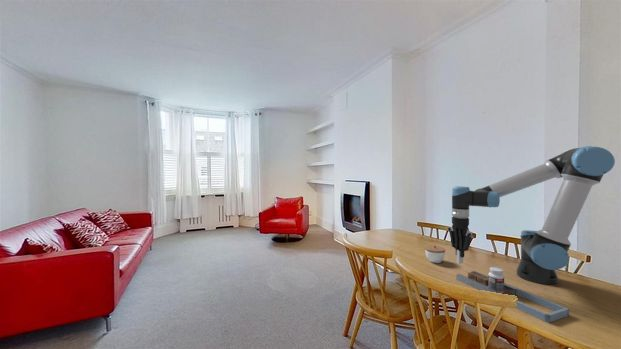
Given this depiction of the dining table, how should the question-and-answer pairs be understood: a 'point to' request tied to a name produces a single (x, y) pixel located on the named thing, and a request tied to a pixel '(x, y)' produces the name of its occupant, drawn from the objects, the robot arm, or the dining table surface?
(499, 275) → the pill bottle
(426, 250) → the lidded jar
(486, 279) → the walnut chip
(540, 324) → the dining table surface
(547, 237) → the robot arm
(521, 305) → the corral tray
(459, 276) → the slot rails
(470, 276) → the walnut chip
